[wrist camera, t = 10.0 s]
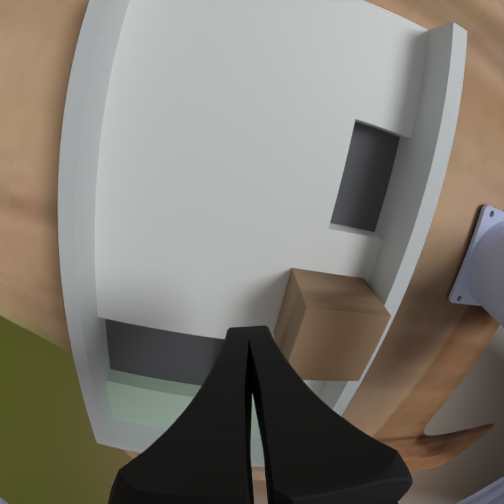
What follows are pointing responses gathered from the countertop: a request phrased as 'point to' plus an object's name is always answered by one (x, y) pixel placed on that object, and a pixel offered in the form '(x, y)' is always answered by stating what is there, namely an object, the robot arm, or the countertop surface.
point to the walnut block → (329, 325)
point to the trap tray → (237, 182)
